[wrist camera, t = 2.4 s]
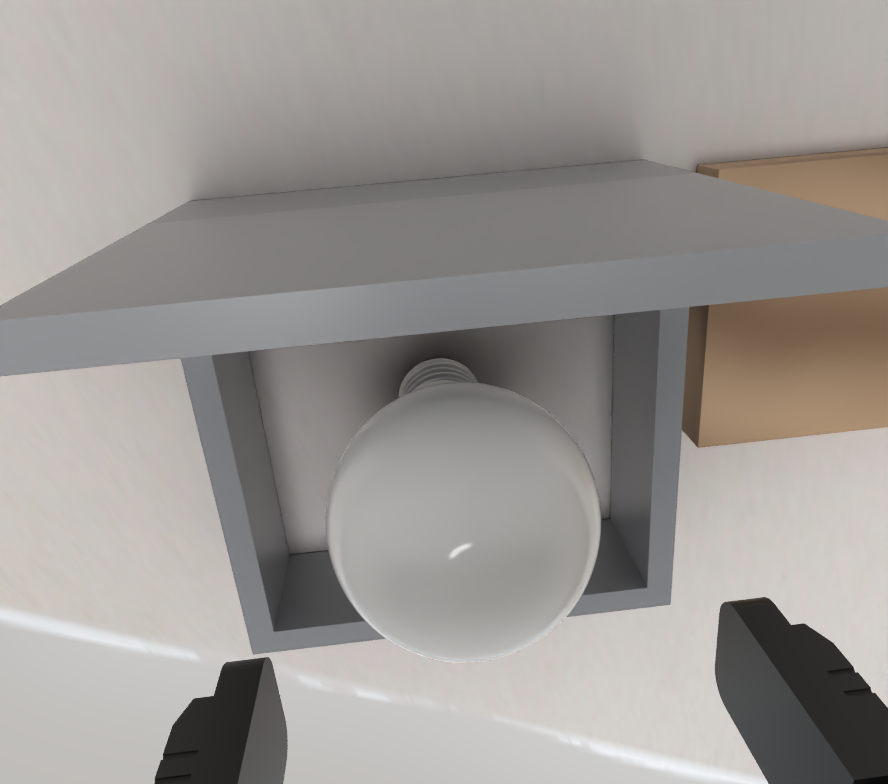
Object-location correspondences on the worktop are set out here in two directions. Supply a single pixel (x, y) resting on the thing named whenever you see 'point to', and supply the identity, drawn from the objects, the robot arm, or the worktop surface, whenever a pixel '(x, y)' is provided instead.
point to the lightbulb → (462, 518)
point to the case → (437, 327)
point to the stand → (793, 327)
